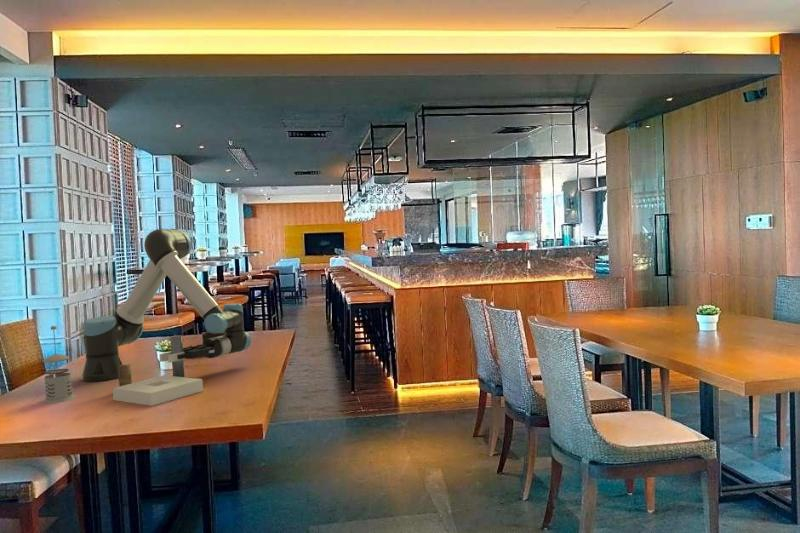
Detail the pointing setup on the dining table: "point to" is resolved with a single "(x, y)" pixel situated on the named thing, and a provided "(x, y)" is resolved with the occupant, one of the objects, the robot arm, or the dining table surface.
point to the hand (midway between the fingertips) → (164, 358)
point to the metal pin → (176, 348)
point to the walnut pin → (124, 374)
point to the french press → (57, 379)
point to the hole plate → (157, 390)
